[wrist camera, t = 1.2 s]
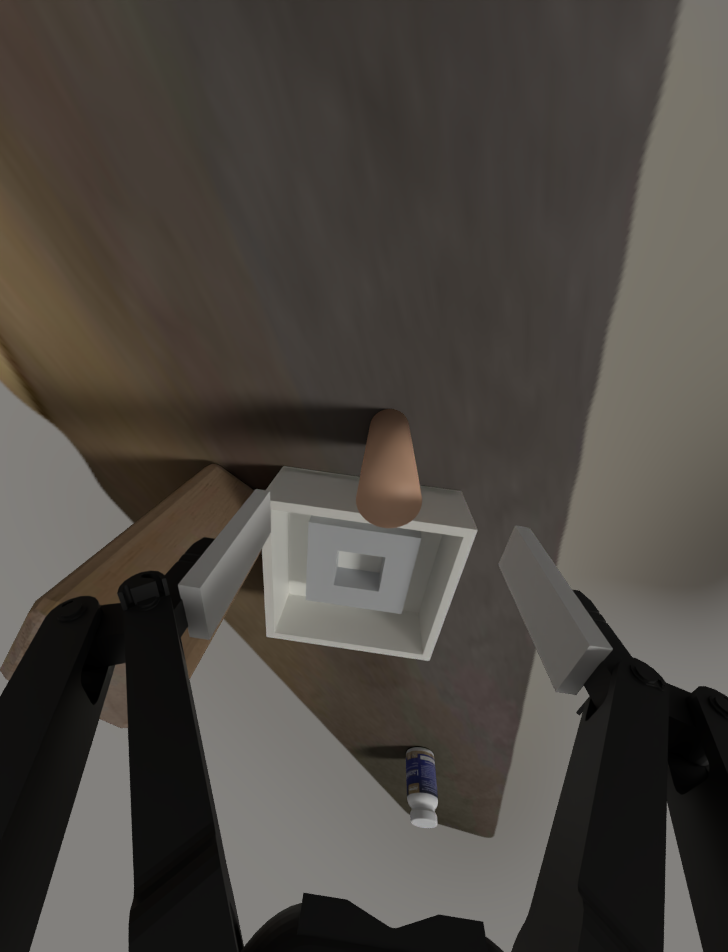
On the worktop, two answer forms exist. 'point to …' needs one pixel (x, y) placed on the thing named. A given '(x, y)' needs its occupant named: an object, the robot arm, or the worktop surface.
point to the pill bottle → (421, 787)
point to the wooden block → (144, 567)
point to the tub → (360, 566)
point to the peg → (389, 473)
